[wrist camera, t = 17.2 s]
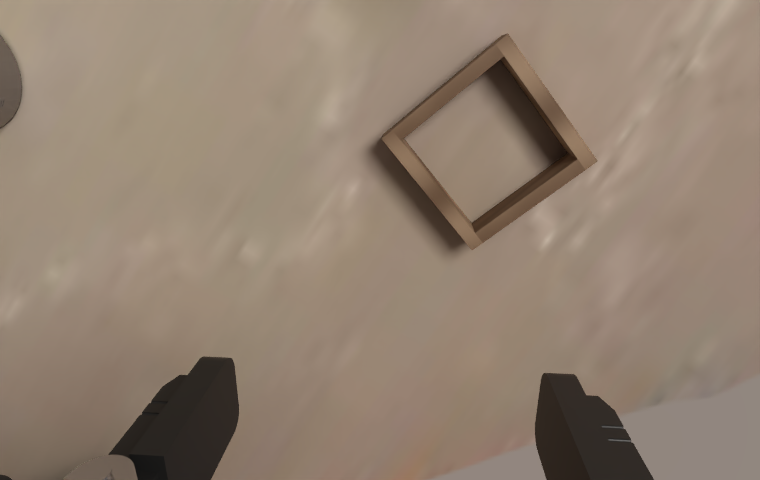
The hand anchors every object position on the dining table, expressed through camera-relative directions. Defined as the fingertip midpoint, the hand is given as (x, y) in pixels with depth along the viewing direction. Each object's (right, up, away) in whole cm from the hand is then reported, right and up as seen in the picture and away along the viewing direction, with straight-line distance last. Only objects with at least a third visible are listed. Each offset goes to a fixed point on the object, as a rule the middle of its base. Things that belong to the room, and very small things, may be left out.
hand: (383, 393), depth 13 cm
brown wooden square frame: (+8, +11, +25) cm, 29 cm away
